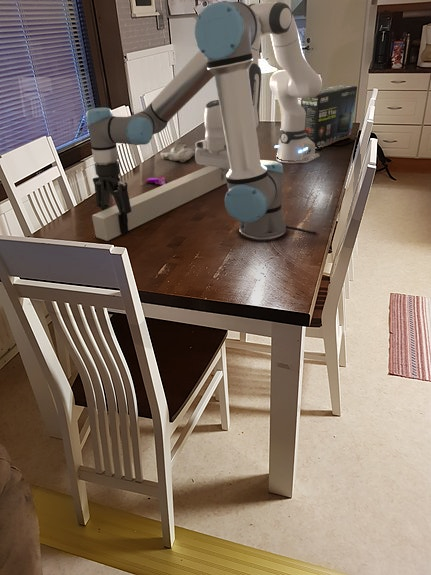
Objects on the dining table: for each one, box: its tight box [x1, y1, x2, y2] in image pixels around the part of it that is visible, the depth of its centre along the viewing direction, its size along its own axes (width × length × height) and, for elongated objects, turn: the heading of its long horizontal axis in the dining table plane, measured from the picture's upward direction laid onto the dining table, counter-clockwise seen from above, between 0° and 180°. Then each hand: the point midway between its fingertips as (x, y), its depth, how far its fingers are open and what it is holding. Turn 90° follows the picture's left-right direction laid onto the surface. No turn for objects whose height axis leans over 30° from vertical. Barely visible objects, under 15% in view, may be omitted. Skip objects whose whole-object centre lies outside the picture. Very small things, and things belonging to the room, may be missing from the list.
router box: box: [300, 84, 358, 146], centre depth 238 cm, size 36×11×27 cm, turn 134°
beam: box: [91, 166, 227, 242], centre depth 172 cm, size 72×6×8 cm, turn 144°
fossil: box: [160, 142, 197, 163], centre depth 229 cm, size 18×11×15 cm
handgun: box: [146, 176, 167, 187], centre depth 190 cm, size 21×8×2 cm, turn 11°
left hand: (117, 229), depth 154 cm, fingers open, 6 cm apart
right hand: (217, 177), depth 192 cm, fingers closed on beam, 5 cm apart
